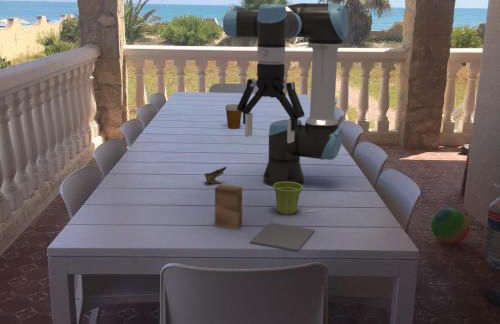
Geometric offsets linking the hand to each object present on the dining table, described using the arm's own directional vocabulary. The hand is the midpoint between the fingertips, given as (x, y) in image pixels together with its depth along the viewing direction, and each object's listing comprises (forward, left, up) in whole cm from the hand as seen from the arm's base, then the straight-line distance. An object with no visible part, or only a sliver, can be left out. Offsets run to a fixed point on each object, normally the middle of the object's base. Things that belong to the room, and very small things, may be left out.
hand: (269, 139), depth 166 cm
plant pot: (-18, 0, -28) cm, 33 cm away
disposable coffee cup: (-132, -69, -28) cm, 152 cm away
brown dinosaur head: (-36, -34, -28) cm, 57 cm away
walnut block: (+1, -12, -28) cm, 30 cm away
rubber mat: (+3, +6, -28) cm, 28 cm away
